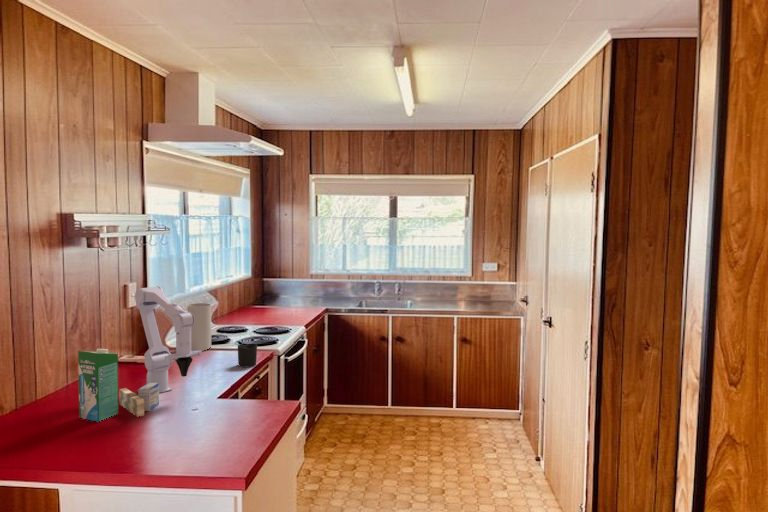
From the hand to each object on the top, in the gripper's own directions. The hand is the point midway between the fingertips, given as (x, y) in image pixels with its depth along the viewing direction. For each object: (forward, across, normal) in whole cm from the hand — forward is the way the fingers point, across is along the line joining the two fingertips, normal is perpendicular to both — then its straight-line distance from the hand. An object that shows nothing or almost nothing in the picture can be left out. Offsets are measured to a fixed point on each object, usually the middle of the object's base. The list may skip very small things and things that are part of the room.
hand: (183, 375), depth 211 cm
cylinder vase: (+10, +43, +73) cm, 85 cm away
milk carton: (+10, -31, +2) cm, 33 cm away
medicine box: (+10, -14, -1) cm, 17 cm away
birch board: (+9, -20, +1) cm, 22 cm away
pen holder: (+10, +45, +27) cm, 54 cm away
